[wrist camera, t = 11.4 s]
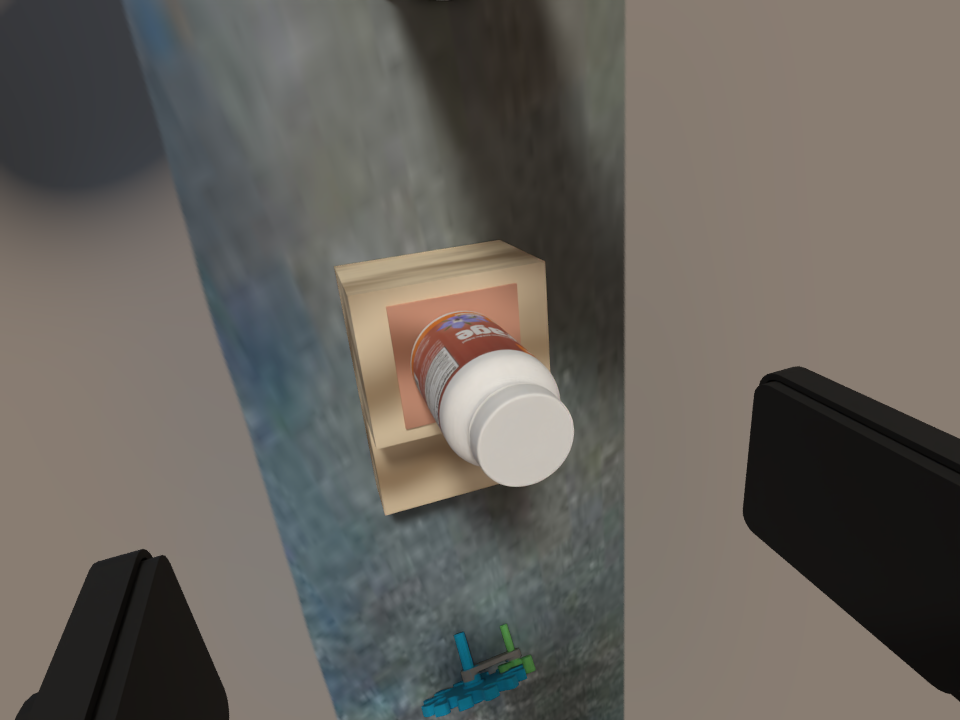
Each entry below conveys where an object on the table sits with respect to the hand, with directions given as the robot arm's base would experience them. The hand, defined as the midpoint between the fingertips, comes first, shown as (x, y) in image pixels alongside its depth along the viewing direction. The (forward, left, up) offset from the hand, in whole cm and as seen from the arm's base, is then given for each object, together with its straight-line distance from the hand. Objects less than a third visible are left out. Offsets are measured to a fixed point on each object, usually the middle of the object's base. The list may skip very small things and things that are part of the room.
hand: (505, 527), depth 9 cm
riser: (+4, +13, -33) cm, 35 cm away
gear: (+26, +34, -33) cm, 54 cm away
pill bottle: (+1, +9, -25) cm, 27 cm away
